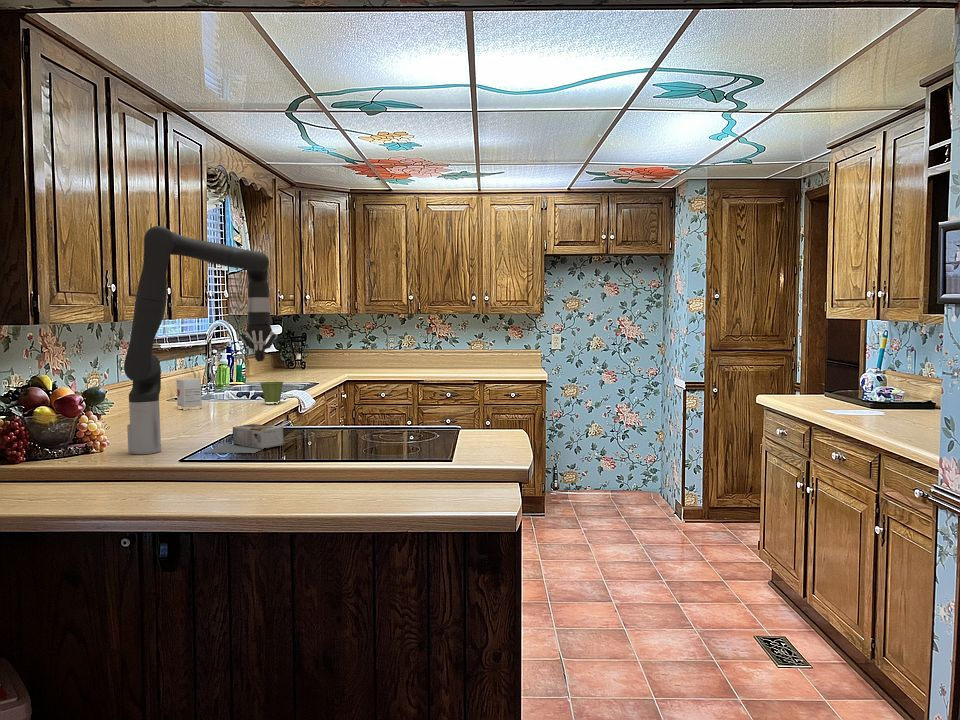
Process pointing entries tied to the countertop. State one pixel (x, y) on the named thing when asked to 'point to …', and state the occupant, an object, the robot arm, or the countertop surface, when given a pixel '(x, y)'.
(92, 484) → the countertop surface
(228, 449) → the mat
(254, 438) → the coffee box
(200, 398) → the supplement box
